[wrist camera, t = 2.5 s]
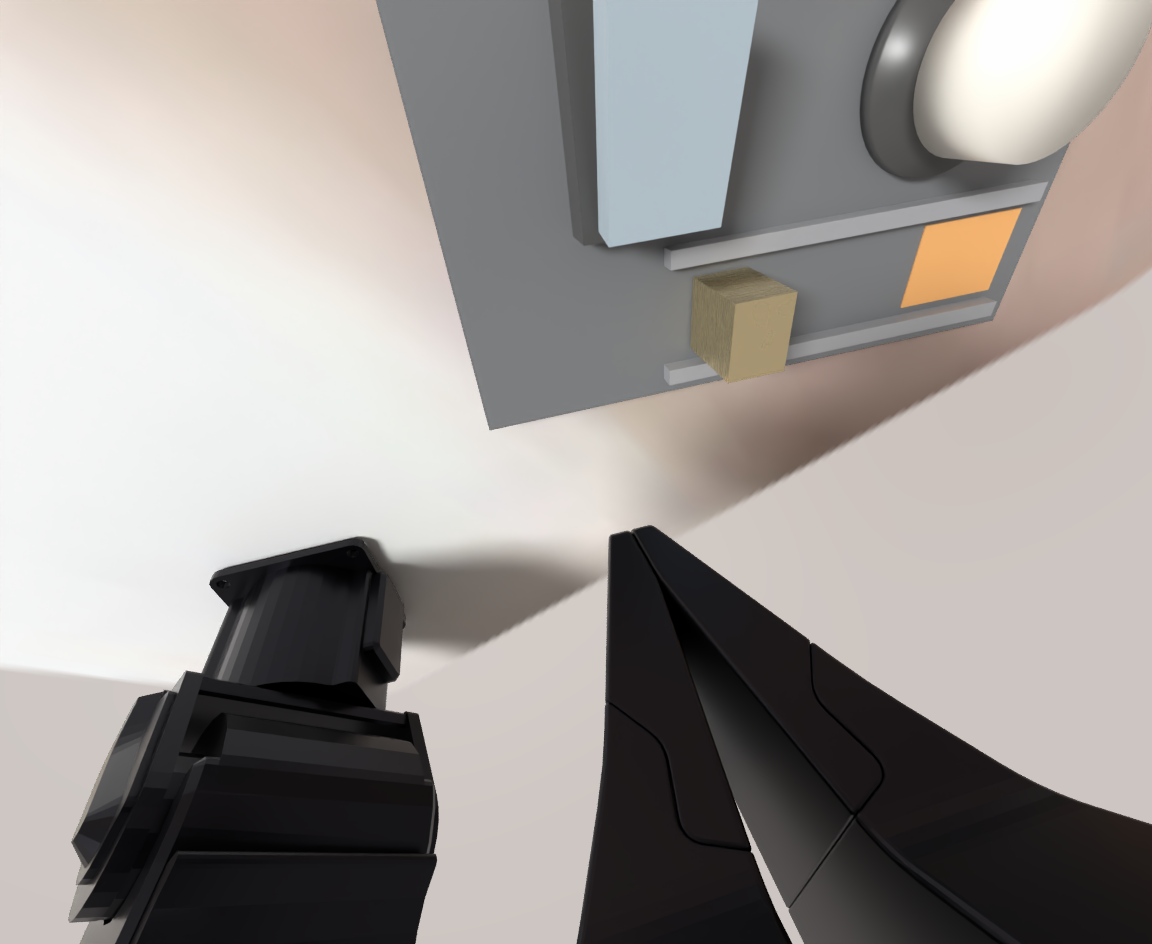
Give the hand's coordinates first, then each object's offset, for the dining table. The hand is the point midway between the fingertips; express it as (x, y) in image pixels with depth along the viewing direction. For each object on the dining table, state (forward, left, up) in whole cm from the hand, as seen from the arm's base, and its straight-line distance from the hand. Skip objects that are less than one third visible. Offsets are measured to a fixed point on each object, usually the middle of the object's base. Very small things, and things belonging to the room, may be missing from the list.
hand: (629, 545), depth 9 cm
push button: (+14, +6, -9) cm, 17 cm away
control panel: (+9, +3, -11) cm, 15 cm away
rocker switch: (+4, +6, -7) cm, 10 cm away
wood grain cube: (+7, 0, -10) cm, 12 cm away
